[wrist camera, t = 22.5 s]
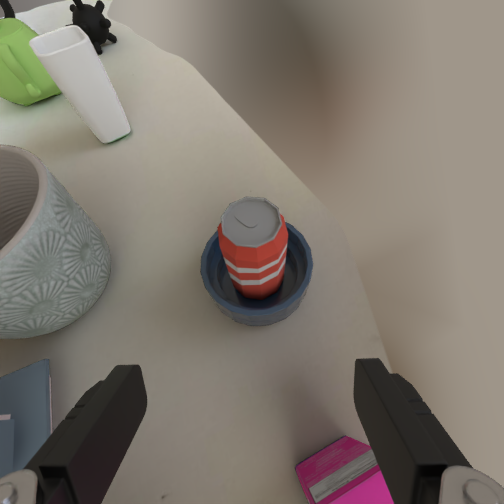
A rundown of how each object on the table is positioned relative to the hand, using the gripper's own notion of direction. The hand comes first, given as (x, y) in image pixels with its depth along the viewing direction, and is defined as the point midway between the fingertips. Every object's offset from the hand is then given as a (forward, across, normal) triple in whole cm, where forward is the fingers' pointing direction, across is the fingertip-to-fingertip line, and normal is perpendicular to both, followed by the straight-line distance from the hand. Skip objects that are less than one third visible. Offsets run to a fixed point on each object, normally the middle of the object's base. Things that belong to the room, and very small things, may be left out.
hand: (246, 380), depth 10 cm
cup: (+45, +26, -17) cm, 54 cm away
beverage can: (+22, 0, +5) cm, 23 cm away
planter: (+23, +25, +5) cm, 34 cm away
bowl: (+23, 0, +5) cm, 23 cm away
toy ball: (+69, +39, -42) cm, 90 cm away
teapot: (+57, +48, -30) cm, 80 cm away
